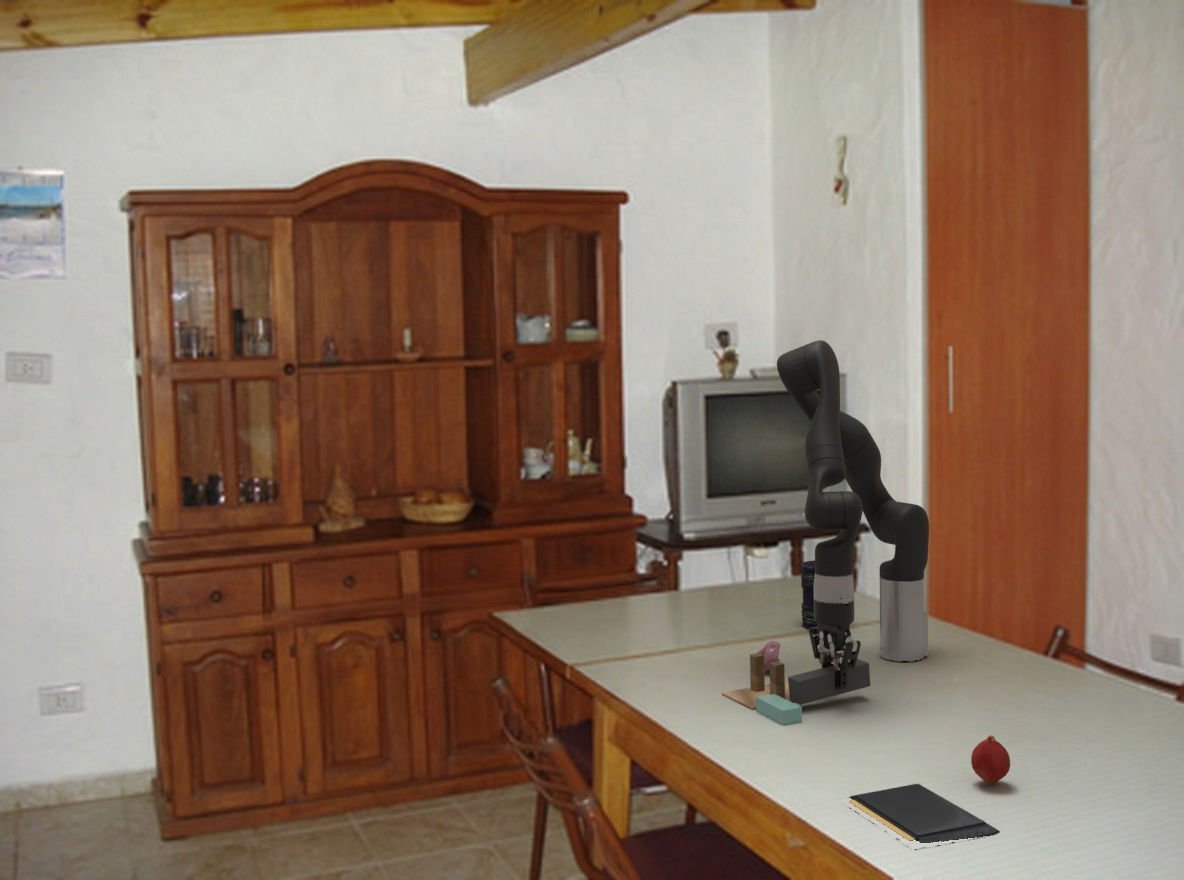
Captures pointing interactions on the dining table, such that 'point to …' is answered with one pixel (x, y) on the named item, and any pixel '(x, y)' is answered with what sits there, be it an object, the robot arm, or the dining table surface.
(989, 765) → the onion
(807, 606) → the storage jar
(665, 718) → the dining table surface
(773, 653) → the video game controller
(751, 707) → the board
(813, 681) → the bar
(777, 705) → the block
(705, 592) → the dining table surface
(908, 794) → the black book
